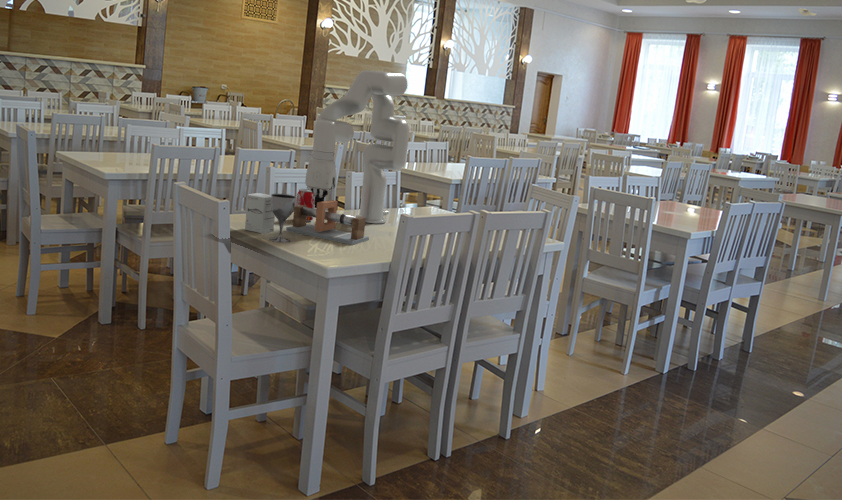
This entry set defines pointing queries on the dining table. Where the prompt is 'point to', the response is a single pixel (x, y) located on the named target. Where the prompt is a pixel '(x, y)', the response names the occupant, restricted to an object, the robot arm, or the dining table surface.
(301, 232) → the board
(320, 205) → the ring
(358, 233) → the posts
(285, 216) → the wine glass
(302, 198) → the soda can
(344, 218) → the pipe
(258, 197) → the supplement box
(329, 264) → the dining table surface
